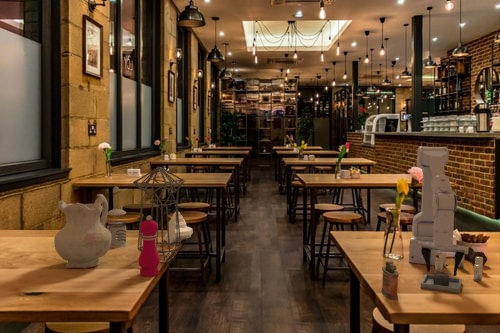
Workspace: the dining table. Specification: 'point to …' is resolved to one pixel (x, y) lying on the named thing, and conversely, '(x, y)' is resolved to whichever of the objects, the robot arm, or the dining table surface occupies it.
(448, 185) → the robot arm
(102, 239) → the ceramic pitcher
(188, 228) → the soft serve ice cream
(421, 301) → the dining table surface
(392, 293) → the lighter
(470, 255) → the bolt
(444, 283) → the nut
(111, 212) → the french press
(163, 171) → the geometric lantern
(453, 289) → the tray
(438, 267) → the spacer field
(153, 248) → the pepper mill
